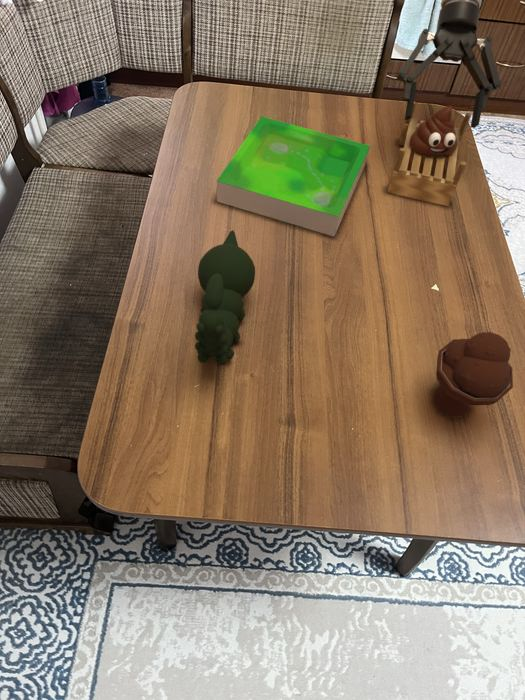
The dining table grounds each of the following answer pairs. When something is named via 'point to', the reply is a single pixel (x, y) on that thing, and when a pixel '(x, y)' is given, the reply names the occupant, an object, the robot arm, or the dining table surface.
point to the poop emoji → (435, 135)
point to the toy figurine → (222, 299)
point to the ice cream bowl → (473, 373)
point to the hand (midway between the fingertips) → (441, 122)
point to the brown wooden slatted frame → (425, 169)
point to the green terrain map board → (293, 175)
